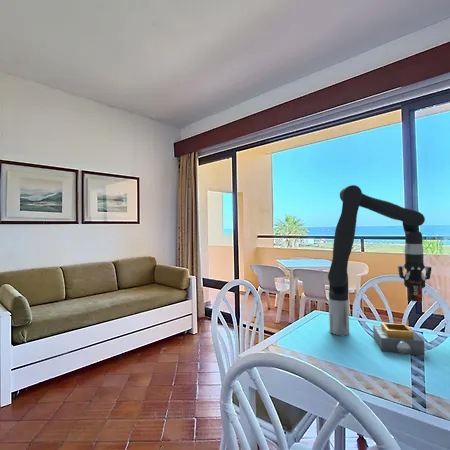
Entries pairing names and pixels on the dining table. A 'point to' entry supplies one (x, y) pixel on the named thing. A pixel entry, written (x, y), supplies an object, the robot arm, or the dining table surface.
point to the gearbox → (398, 339)
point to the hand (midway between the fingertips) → (414, 287)
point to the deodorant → (415, 286)
